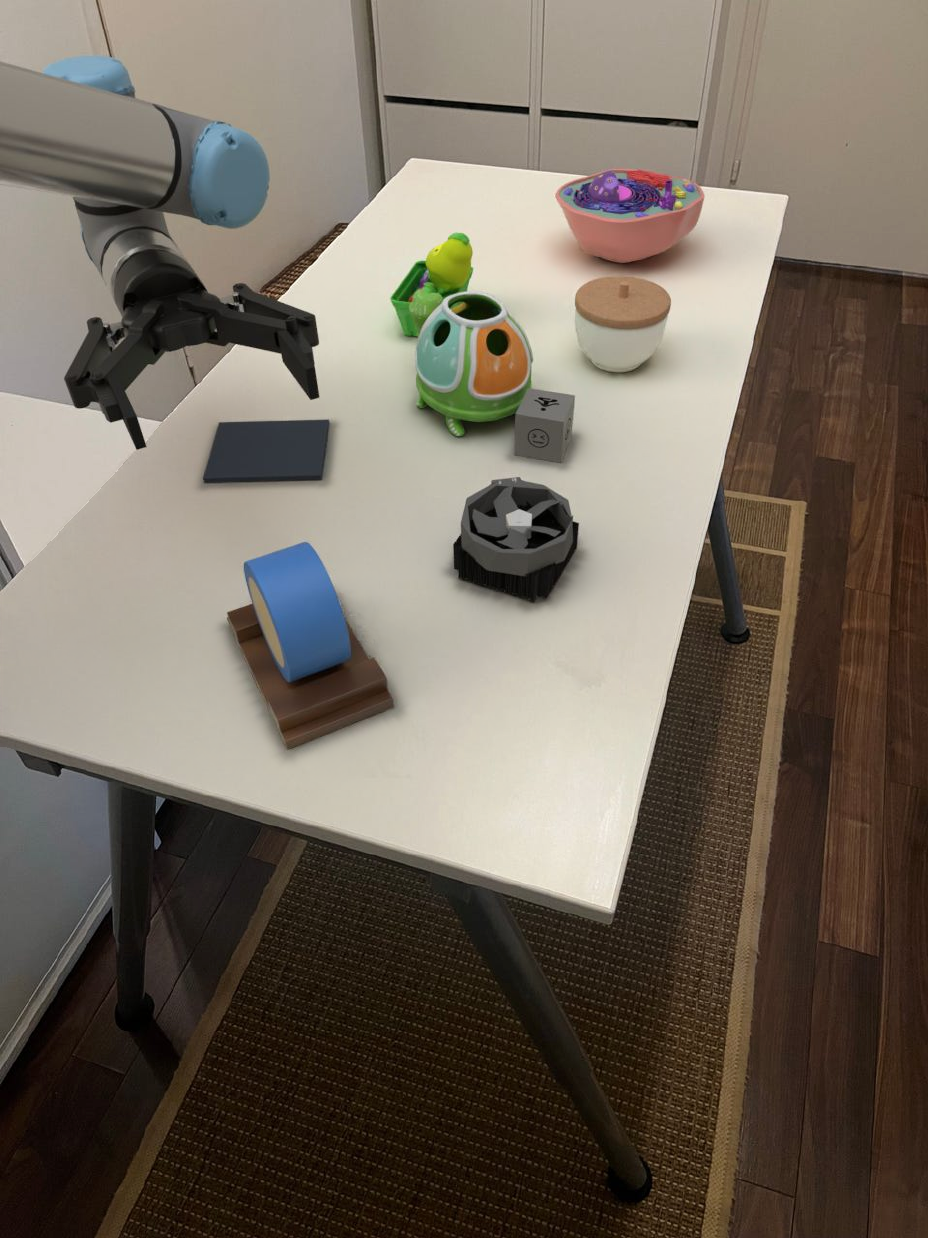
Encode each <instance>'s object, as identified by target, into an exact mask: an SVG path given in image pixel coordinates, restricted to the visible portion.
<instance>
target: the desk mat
mask: <svg viewBox="0 0 928 1238" xmlns="http://www.w3.org/2000/svg"><path fill="white" fill-rule="evenodd" d="M329 431H330V419H293V420H292V419H290V420H289V419H288V420H254V421H251V420H250V421H219V422H218V425H217V428H216V431H215V434H214V439H213V441H212V445H211V448H210V452H209V456H208V460H207V463H206V466H205V470H204V474H203V477H202V480H203V483H204V484H205V483H208V484H209V483H240V482H241V483H242V482H243V483H244V482H278V481H279V482H281V481H287V482H288V481H320V480H322V479H323V473H324V466H325V458H326V452H327V443H328V438H329V437H328V436H329Z"/></svg>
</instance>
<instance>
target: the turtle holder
mask: <svg viewBox="0 0 928 1238" xmlns="http://www.w3.org/2000/svg"><path fill="white" fill-rule="evenodd" d="M457 302H463V303H462V304H460V305H459V306H457V307H455V308H452V309H449V308H450V307H451V306H452V305H454V304H455V303H457ZM409 313H410V316H411V318H412V320H413V322H414V324H415V327H416V330H417V335H418V337H417V341H416V345H415V350H414V366H415V371H416V378H415V384H416V385H415V386H416V389H417V392H418V394H419V395H418V397H417V400H416V407H417V408H419V409H425V408H426V407H427V406H429V407H430V408H431V409H433V410H435V411H436V412H438V413H440V414H443V415H445V423H446V426H447V429H448V431H449V432H450V433H451V434H452V436H453V435H454V436H455V437H462V436H464V435H465V433H466V432H465V428H464V425H463V423H462V420H463V421H468V422H476V423H477V422H478V423H480V422H481V423H482V422H484V423H485V422H493V421H498V420H500V419H504V418H506V417H509V416H512V415H514V414H516V412H517V410H518V408H519V406H520V404H521V402H522V399H523V397H524V395H525V393H526V391H527V389H528V388H531V389H533V383H532V370H533V369H532V368H533V367H532V364H533V362H534V355H533V350H532V346H531V344H530V340H529V338H528V336H527V334H526V332H525V329H524V328H523V326H522V325H521V323H520V322H519V320H517V319H516V318H515V316H513V315H512V314H511V313H510V311H508V309H507V307H506V306H505V304H504V303H503V302H502V301H501V300H500V299H499V298H497V297H495V296H494V295H492V294H490V293H488V292H484V291H480V290H467V291H466V292H460V293H456V294H453V295H450V296H448V297H446V298H445V299H444V300H443V298H442V296H441V295H440V294H438V293H431V294H430V293H428V292H426V291H423V290H418V291H416V292H415V293H414V295H413V301H412V303H411V304H410V305H409Z"/></svg>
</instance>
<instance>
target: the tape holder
mask: <svg viewBox="0 0 928 1238" xmlns="http://www.w3.org/2000/svg"><path fill="white" fill-rule="evenodd" d="M226 616H227V617H226V621H227V623H228V627H229V628H230V630H231V633H232V635H233V637H234V639H235V641H236V644H237V646H238V647H239V650H240V652H241V654H242V656H243V658H244V660H245V662H246V665H247V668H248V669H249V672H250V673H251V675H252V678H253V680H254V682H255V684H256V686H257V688H258V690H259V692H260V695H261V697H262V699H263V701H264V703H265V705H266V708H267V709H268V712H269V714H270V716H271V719H272V720H273V724H274V725H275V727H276V729H277V731H278V734H279V736H280V738H281V740H282V742H283V744H284V746H285V748H286V749H287V750H290V749H293V748H295V747H297V746H299V745H302V744H304V743H306V742H309V741H312V740H314V739H317V738H319V737H321V736H324V735H327V734H329V733H331V732H334V731H337V730H339V729H342V728H344V727H347V726H349V725H351V724H352V725H353V724H354V723H357V722H359V721H361V720H364V719H367V718H369V717H372V716H374V715H376V714H380V713H381V712H384V711H387V710H389V709H392V708H394V707H395V703H394V698H393V696H392V694H391V693H390V691H389V687H388V686H389V685H388V679H387V676H386V674H385V672H384V671H383V670H382V667H381V666H380V664H379V663H378V661H377V659H376V658H375V657H372V658H371V657H369V656H368V654H367V653H366V651H365V649H364V647H363V645H362V643H361V642H360V641H359V639H358V637H357V635H356V634H355V633H354V631H353V629H352V627H351V625H350V624H349V622H348V621H347V618H346V617H345V616H344V618H345V622H346V625H347V630H348V634H349V639H350V646H351V656H350V659H349V660H348V661H346V662H343V663H340V664H338V665H335V666H332V667H330V668H327V669H324V670H322V671H319V672H317V673H314V674H311V675H309V676H306V677H303V678H301V679H298V680H295V681H293V682H290V683H289V682H287V681H286V680H285V678H284V677H283V675H282V674H281V672H280V670H279V668H278V667H277V664H276V662H275V660H274V658H273V656H272V654H271V652H270V649H269V647H268V645H267V642H266V640H265V637H264V635H263V632H262V630H261V627H260V624H259V622H258V619H257V616H256V613H255V610H254V607H253V604H252V603H250V604H247V605H245V606H240V607H238V608H236V609H232V610H230V611H227V612H226Z"/></svg>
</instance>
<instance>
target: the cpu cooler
mask: <svg viewBox="0 0 928 1238" xmlns="http://www.w3.org/2000/svg"><path fill="white" fill-rule="evenodd" d="M579 527H580V523H579V522H576V521H574V515H573V514H572V510H571V505H570V501H569V499H567V498H566V497H564V496H563V495H562V494H559V493H558V492H556V491H554V490H553V489H552V488H550V487H548V486H547V485H545V484H542V483H537V482H531V481H526V480H524V479H522V478H521V476H515V477H507V478H498V479H491V483H490V484H489V485H486V487H484V488H482V489H480V490H479V491H477V492H475V493H473V494H472V495H469V496H467V497H466V499H465V503H464V508H463V511H462V515H461V520H460V534H459V536H457V538H456V539H455V541H454V542H453V544H452V550H453V551H452V552H453V569H454V570H455V571H458V572H457V575H458V579H459V580H462V581H467V582H468V583H472V584H475V585H478V586H481V587H484V588H488V589H490V590H494V591H497V592H501V593H504V594H506V595H509V596H512V597H517V598H518V599H521V600H522V599H523V600H526V601H528V602H532V603H535V602H536V599H537V598H538V597H541V598H544V599H546V600H547V599H548V598H549V596H550V595H551V593H552V591H553V590H554V588H555V586H556V584H557V583H558V582H559V581H558V580H560V577H561V576H562V574H563V572H564V570H565V569H566V567H567V566H568V564H569V562H570V561H571V559H572V557H573V555H574V554H575V552H576V550H577V548H578V538H579V530H580V529H579Z"/></svg>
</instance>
